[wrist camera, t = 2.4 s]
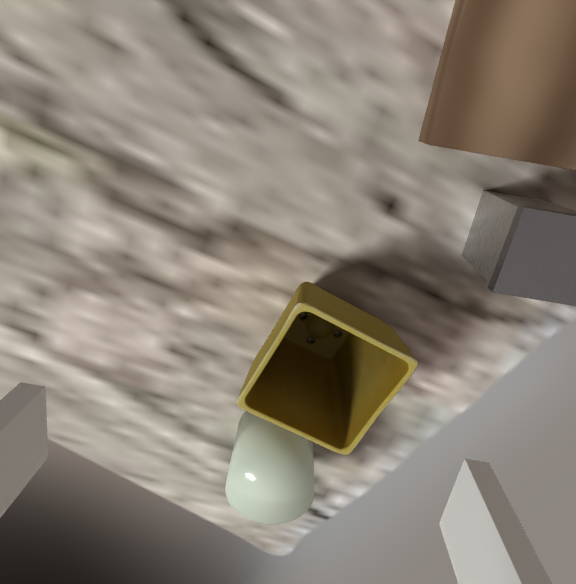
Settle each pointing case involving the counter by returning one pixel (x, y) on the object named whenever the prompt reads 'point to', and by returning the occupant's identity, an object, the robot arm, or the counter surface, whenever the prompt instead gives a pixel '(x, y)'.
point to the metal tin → (524, 247)
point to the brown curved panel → (507, 82)
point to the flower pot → (326, 370)
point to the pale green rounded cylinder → (270, 472)
